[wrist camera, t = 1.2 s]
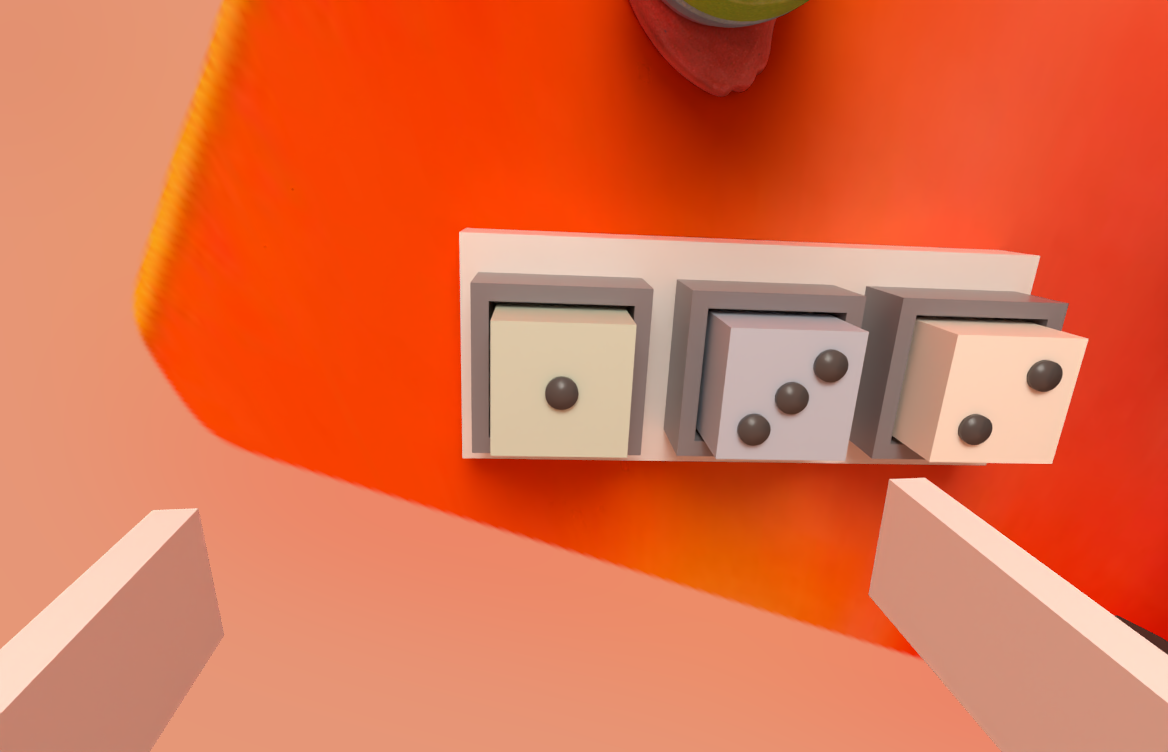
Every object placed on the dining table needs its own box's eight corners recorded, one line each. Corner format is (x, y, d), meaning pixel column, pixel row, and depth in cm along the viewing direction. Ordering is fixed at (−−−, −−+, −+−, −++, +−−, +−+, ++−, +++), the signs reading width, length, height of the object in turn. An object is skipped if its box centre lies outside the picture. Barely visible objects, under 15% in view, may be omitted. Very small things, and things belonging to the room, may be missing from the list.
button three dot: (827, 313, 30) (872, 333, 26) (808, 427, 32) (848, 463, 28) (706, 309, 30) (733, 329, 25) (694, 425, 31) (717, 461, 27)
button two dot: (1020, 319, 31) (1094, 340, 27) (992, 431, 33) (1057, 466, 28) (906, 315, 30) (962, 336, 26) (883, 429, 32) (933, 464, 28)
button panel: (999, 249, 35) (1097, 264, 29) (953, 444, 39) (1031, 494, 32) (466, 228, 33) (448, 237, 27) (468, 436, 36) (453, 488, 30)
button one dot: (624, 306, 29) (637, 326, 25) (616, 424, 31) (628, 460, 27) (497, 302, 29) (490, 322, 25) (497, 422, 31) (489, 458, 26)
